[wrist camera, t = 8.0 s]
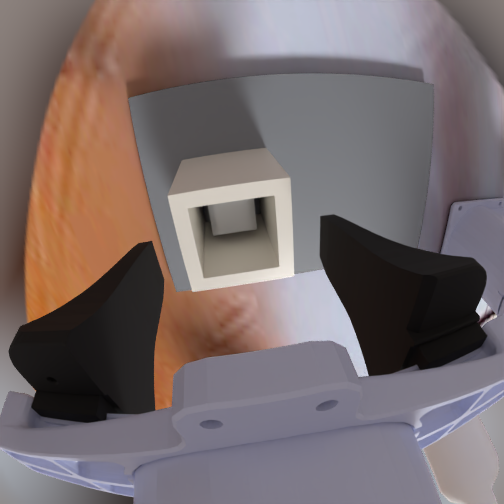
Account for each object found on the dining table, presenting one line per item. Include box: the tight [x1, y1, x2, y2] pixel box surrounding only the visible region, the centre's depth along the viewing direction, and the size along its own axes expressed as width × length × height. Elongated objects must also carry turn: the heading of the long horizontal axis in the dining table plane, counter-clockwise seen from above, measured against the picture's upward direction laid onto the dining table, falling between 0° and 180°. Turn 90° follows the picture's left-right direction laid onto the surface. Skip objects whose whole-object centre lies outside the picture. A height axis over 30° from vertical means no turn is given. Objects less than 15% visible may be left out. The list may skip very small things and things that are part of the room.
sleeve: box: [168, 148, 294, 292], centre depth 15 cm, size 5×5×6 cm
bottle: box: [423, 415, 499, 504], centre depth 21 cm, size 8×8×30 cm
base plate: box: [128, 73, 434, 292], centre depth 17 cm, size 20×14×4 cm
